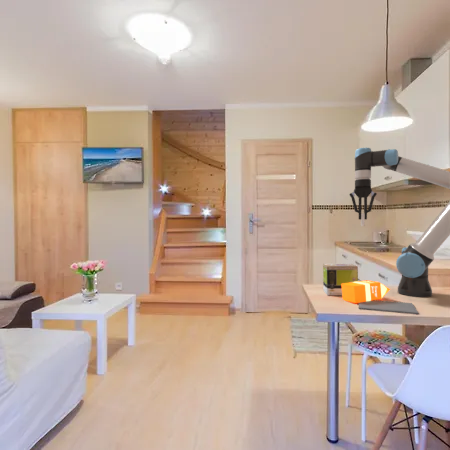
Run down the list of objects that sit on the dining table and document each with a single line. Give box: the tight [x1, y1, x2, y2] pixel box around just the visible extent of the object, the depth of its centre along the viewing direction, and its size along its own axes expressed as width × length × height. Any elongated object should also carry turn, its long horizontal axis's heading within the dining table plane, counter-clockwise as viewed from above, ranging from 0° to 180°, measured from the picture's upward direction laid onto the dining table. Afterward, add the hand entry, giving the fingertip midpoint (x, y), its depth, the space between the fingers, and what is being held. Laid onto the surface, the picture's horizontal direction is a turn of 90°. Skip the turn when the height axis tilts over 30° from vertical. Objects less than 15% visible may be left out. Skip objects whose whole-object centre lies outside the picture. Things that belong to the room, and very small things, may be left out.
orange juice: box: [341, 279, 391, 304], centre depth 156 cm, size 8×9×20 cm
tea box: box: [322, 263, 359, 296], centre depth 170 cm, size 15×10×15 cm
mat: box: [357, 299, 419, 315], centre depth 145 cm, size 22×16×1 cm
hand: (362, 226), depth 170 cm, fingers closed
